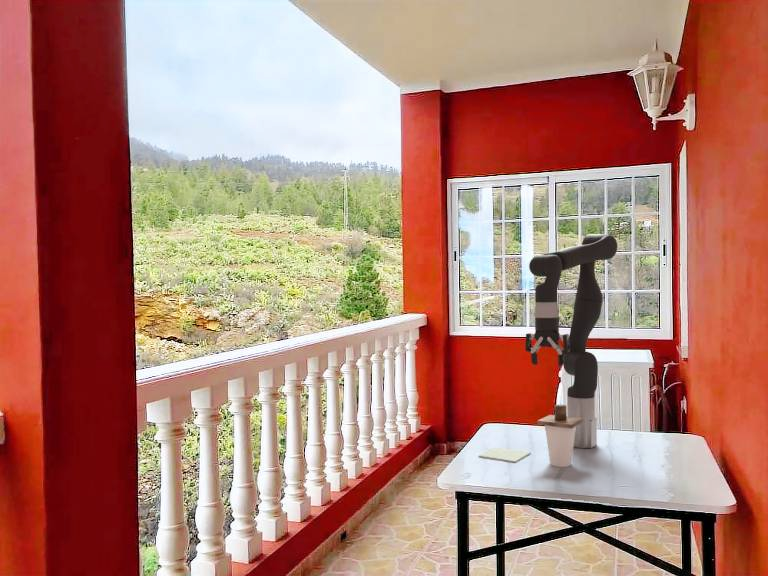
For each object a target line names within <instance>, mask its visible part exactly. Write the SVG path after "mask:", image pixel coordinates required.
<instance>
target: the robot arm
mask: <svg viewBox="0 0 768 576" xmlns="http://www.w3.org/2000/svg"><path fill="white" fill-rule="evenodd" d="M617 252H618V242H617V239H616V238H615V237H614V236H613V235H611V234H607V233H589V234H586V235H585V236H584V237H583V239H582V243H581V245H575V246H574V245H573V246H568V247H564V248H562V249H557V250H556V251H553V252H547V253H541V254H538V255H535V256H534V257H532V258H531V259H530V261H529V265H528V267H529V271H530V273H531V274H532V275H533V276H535V277H538V278H539V277H543V278H544V277H545V279H544V282H543V283H540V284H537V285H536V286H535V290H534V291H535V293H534V296H535V297H534V298H535V299H534V300H535V301H534V303H535V305H534V330H535V331H534V333H532V332H528V333H526V334H525V345H524V346H525V347H524V350H525V351H526V352H528V353H530V355H531V357H530V358H531V359H530V360H531V364H533V366H537V365H538V353H537V352H538V351H539V349H540V348H546V347H548V348H554V350H555V351H556V352H557V359H558V360H557V361H558V367H562V366H563V369H564V371H565V373H567V375H569V376H573V377H574V378H573V379H574V380H573V385H571V386H568V388H567V398H566V399H567V405H566V416H567V417H576V418H583V423H581V424H579V425H577V426H576V432H575V437H574V445H573V448H579V449H588V448H589V449H593V448H594V447H596V446H597V444H598V441H597V440H598V438H597V435H598V434H597V431H598V430H597V425H598V423H597V422H598V421H597V419H598V418H597V417H596V415H595V414H596V407H595V406H596V404H595V402H596V401H595V400H596V399H595V394H596V391H597V387H598V372H599V365H598V360H597V357H596V356H595V354H594V353H592V352H590V351H586V350H587V342H588V339H589V336H590V334H591V333H592V331H593V330H594V327H595V326H596V324H597V323H598V322H599V320H600V316H601V312H602V306H603V300H604V298H603V293H602V290H601V287H600V285H599V283H598V281H597V278H596V274H595V263H596V262H597V261H608V260H611V259H612V258H613V257H615V255H616V254H617ZM577 266H579V273H578V281H577V288H576V295H575V297H574V298H575V299H574V304H573V306H574V307H573V312H572V313H573V315H572V320H571V325H570V331H569V333H565V334H560V325H559V323H560V322H559V321H560V320H559V319H560V318H559V317H560V316H559V315H560V314H559V305H558V288H559V285H560V280H561V276H562V272H564V271H567V270H569V269H572V268H575V267H577ZM534 339H535V340H536V342H535V344H534V345H532V343H533V340H534ZM559 340H561V342H562V343H563V347H562V346H561V344H560V343H559ZM532 346H533V347H532Z"/></svg>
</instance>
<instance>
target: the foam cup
mask: <svg viewBox="0 0 768 576" xmlns="http://www.w3.org/2000/svg"><path fill="white" fill-rule="evenodd" d="M544 431H545V435H546V436H545V437H546V441H547V442H546V443H547V449H548V450H547V451H548V457H549V464H550V465H551V466H554V467H558V468H559V467H560V468H562V467H563V468H565V467H570V466H571V465H572V461H573V460H572V459H573V451H574V447H573V445H574V437H575V432H576V427H574V428H572V429H571V428H562V427H554V426H546V425H544Z"/></svg>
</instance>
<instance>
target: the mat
mask: <svg viewBox="0 0 768 576" xmlns="http://www.w3.org/2000/svg"><path fill="white" fill-rule="evenodd" d="M530 455H531V452H530V451H523V450H517V449H511V448H510V449H509V448H505V447H504V448H503V447H497V446H494V447H493V448H490V449H489V450H487V451H485V452H482V453H481V454H479V455H478V458H482V459H483V458H484V459H490V460H493V461H494V460H497V461H501V462H506V463H507V462H508V463H514V464H516V463H517V462H518V463H519V462H520V461H521V460H522V459H525V458H526V457H528V456H530Z"/></svg>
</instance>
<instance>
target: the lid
mask: <svg viewBox="0 0 768 576" xmlns="http://www.w3.org/2000/svg"><path fill="white" fill-rule="evenodd" d="M581 423H583V418H576V417H567V405H565V404H554V414H549V415H546V416H545V417H542V418H541V419H538V420H537V425H540V426H545V425H546V426H554V427H562V428H571V429H572V428H574V427H576V426H577V425H579V424H581Z"/></svg>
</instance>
